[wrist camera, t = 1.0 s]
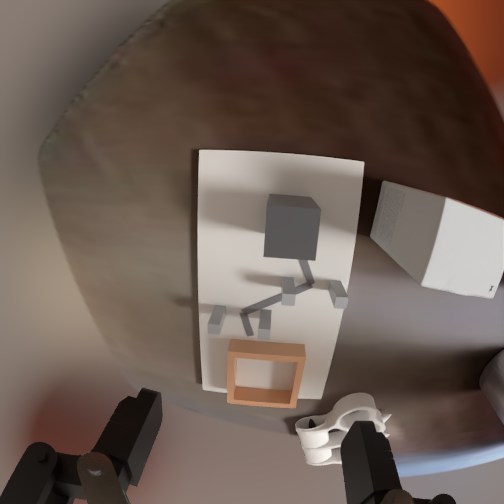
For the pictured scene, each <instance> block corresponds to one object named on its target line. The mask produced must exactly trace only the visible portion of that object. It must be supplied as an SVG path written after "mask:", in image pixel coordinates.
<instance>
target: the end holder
mask: <svg viewBox="0 0 504 504" xmlns="http://www.w3.org/2000/svg"><path fill="white" fill-rule="evenodd" d="M237 358H245V359H256V360H268V361H282V362H295V364H294V369H293V375H292V381H291V386H290V391H289V390H272V389H259V388H248V387H238V386H236V373H237ZM305 360H306V352H305V344H292V343H276V342H263V341H251V340H241V339H230V343H229V347H228V351H227V403H234V404H243V405H253V406H265V407H281V408H296V403H297V399H298V394H299V389H300V385H301V380H302V375H303V370H304V365H305Z"/></svg>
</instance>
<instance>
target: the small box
mask: <svg viewBox="0 0 504 504" xmlns="http://www.w3.org/2000/svg"><path fill="white" fill-rule="evenodd" d="M370 238H372V239H373V240H374V241H375V242H376V243H377V244H378V245H379V246H380V247H381V248H382V249H383V250H385V251H386V252H387V253H388V254H389V255H390V256H391V257H392V258H393V259H394V260H395V261H396V262H397V263H398V264H399V265H400V266H401V267H402V268H403V269H404V270H405V271H406V272H407V273H408V274H409V275H410V276H411V277H412V278H413V279H414V280H415V281H416V282H417V283H418V284H419V285H420V286H423V287H428V288H433V289H437V290H443V291H448V292H453V293H456V294H461V295H468V296H478V297H484V298H490V299H492V298H493V297H494V294H495V292H496V290H497V287H498V285H499V282H500V279H501V277H502V274H503V271H504V218H502V217H499V216H497V215H495V214H492V213H490V212H487V211H485V210H482V209H480V208H477V207H474V206H472V205H469V204H466V203H463V202H461V201H458V200H455V199H452V198H448V197H444V196H441V195H437V194H434V193H430V192H427V191H423V190H419V189H415V188H412V187H408V186H404V185H400V184H396V183H392V182H388V181H383V182H382V186H381V191H380V196H379V200H378V205H377V209H376V213H375V217H374V221H373V226H372V230H371V233H370Z"/></svg>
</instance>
